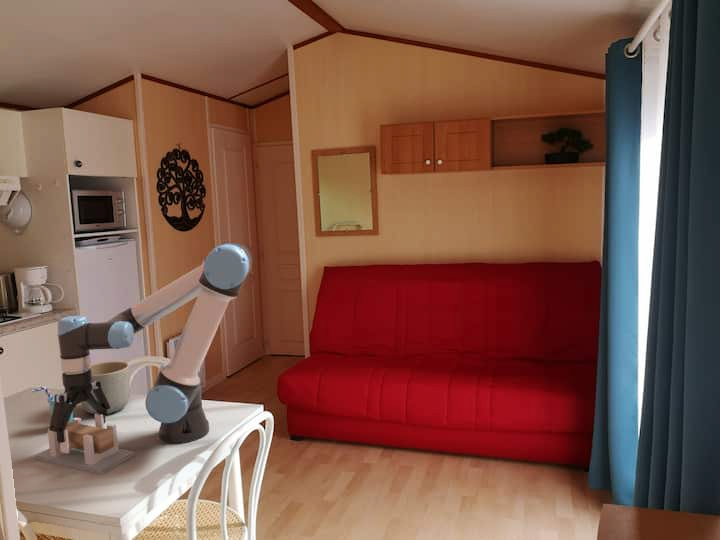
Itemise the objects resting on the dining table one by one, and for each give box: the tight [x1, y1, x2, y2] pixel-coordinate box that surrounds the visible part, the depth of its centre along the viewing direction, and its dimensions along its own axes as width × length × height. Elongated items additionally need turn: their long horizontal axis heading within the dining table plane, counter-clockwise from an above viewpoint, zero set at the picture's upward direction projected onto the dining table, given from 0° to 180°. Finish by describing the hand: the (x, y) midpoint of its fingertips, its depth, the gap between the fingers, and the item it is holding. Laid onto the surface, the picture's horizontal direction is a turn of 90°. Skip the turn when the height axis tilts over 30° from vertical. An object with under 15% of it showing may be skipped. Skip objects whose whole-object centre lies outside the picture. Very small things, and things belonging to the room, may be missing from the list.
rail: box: [48, 422, 114, 454], centre depth 168 cm, size 20×5×5 cm, turn 66°
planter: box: [80, 360, 131, 415], centre depth 206 cm, size 17×17×15 cm
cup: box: [31, 386, 74, 422], centre depth 190 cm, size 14×8×15 cm, turn 120°
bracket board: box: [34, 417, 135, 475], centre depth 168 cm, size 26×12×9 cm, turn 66°
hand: (83, 443), depth 168 cm, fingers open, 11 cm apart
